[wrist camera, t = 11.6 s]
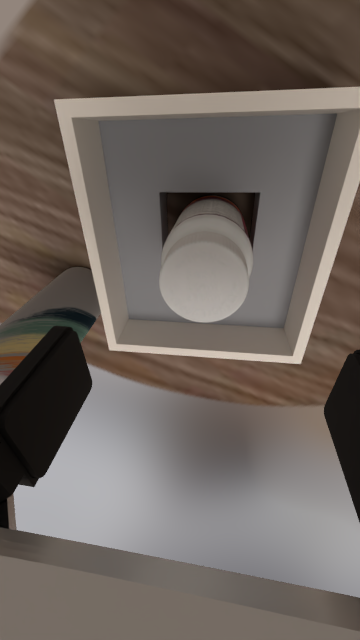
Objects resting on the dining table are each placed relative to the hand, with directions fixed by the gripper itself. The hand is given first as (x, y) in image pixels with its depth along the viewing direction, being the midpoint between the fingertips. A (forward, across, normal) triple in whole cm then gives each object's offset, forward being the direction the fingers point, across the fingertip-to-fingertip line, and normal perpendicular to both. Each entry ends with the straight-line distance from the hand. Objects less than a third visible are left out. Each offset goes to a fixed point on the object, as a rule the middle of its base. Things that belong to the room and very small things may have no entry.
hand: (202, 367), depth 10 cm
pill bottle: (+18, +1, 0) cm, 18 cm away
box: (+18, +1, +1) cm, 18 cm away
